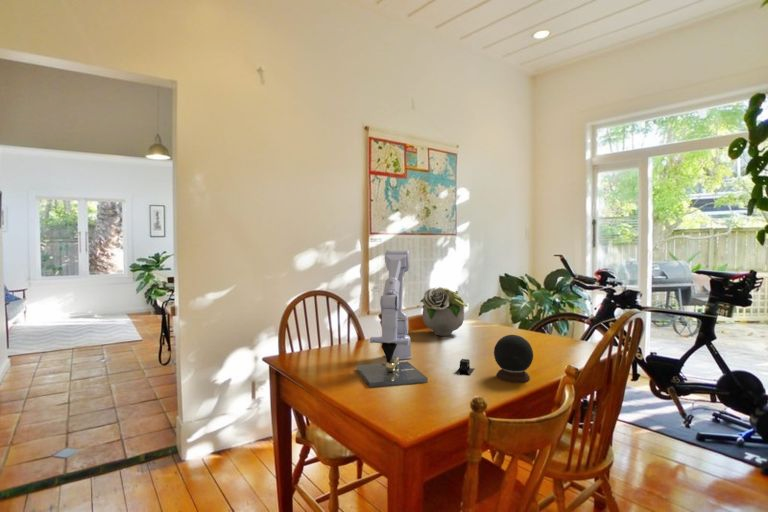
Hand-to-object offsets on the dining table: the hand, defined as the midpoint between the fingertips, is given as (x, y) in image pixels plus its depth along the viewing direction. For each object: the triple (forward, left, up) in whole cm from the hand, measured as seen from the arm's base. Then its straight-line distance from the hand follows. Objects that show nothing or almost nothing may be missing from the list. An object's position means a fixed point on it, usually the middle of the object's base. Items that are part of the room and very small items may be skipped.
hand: (389, 363), depth 154 cm
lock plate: (+1, +6, -2) cm, 7 cm away
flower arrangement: (-45, -51, -3) cm, 67 cm away
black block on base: (-26, +9, -3) cm, 28 cm away
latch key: (0, +3, 0) cm, 3 cm away
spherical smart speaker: (-40, +19, -3) cm, 44 cm away
